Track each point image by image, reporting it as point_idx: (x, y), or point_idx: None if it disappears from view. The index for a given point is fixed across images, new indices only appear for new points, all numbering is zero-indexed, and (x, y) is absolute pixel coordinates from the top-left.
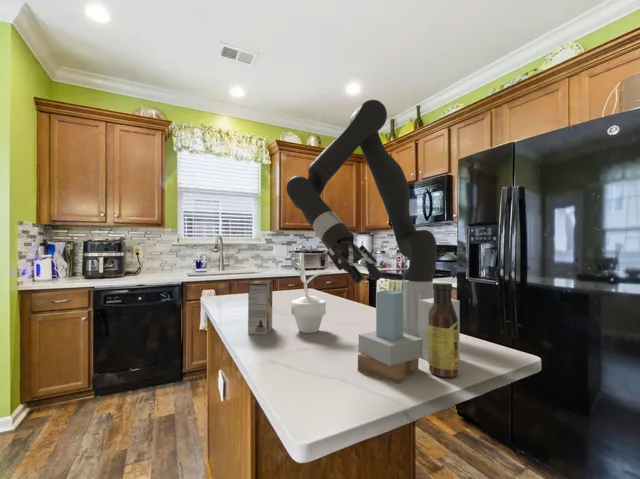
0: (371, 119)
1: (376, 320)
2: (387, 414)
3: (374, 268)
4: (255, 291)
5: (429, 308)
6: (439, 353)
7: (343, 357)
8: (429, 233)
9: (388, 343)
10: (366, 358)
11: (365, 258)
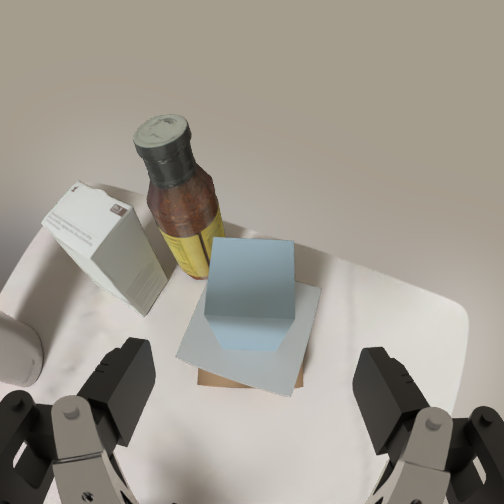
0: None
1: (280, 342)
2: (383, 274)
3: (122, 386)
4: None
5: (123, 234)
6: (224, 237)
7: (250, 451)
8: None
9: (306, 301)
10: (302, 364)
11: (112, 471)
